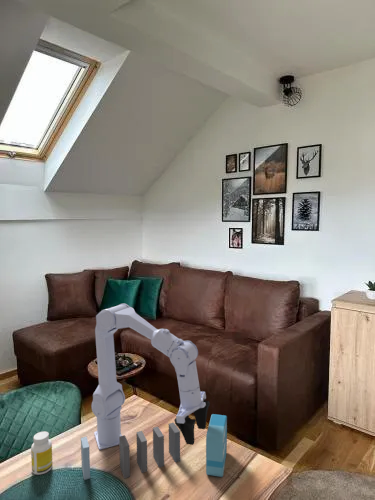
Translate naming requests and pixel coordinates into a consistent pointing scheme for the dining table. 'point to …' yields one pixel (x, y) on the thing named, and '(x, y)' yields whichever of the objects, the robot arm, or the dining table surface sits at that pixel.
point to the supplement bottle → (41, 453)
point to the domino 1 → (124, 456)
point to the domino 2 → (141, 451)
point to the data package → (216, 445)
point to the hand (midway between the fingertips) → (196, 435)
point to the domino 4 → (174, 442)
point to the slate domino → (85, 458)
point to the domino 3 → (158, 446)
